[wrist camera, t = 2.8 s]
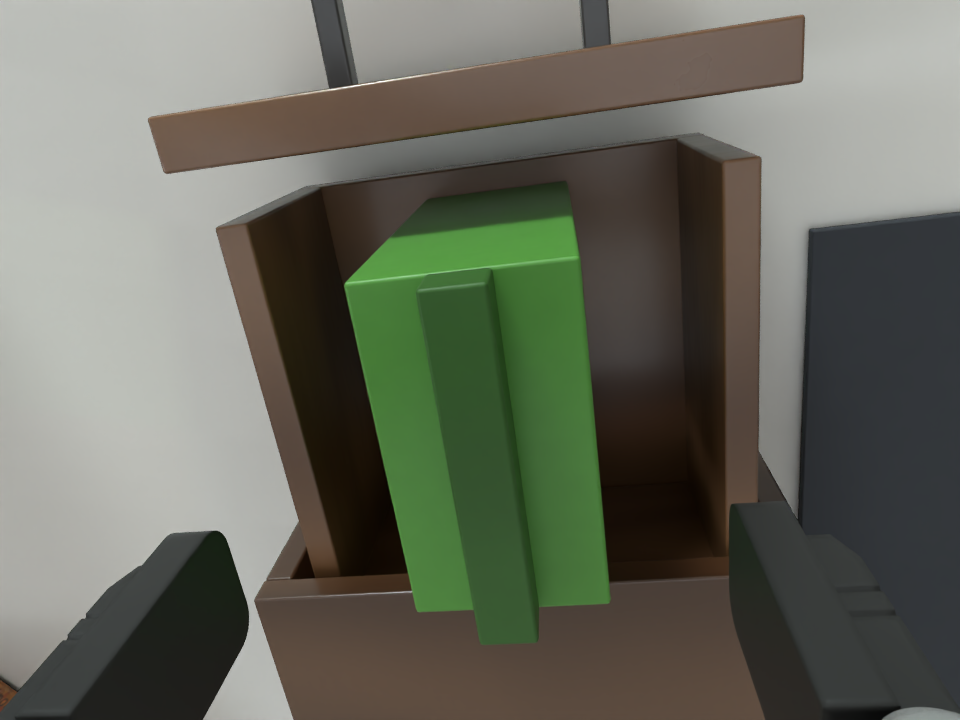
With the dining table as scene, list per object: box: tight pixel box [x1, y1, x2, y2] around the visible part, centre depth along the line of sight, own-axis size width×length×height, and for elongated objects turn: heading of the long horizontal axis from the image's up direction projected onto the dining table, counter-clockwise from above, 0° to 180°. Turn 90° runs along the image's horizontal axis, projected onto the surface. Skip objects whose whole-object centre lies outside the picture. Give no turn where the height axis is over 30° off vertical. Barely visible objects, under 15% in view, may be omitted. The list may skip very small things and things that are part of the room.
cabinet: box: [254, 451, 794, 720], centre depth 24 cm, size 16×15×9 cm
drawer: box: [148, 0, 805, 578], centre depth 19 cm, size 19×13×7 cm
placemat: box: [799, 212, 960, 709], centre depth 25 cm, size 22×9×1 cm, turn 8°
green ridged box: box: [344, 181, 611, 645], centre depth 17 cm, size 8×4×10 cm, turn 8°
